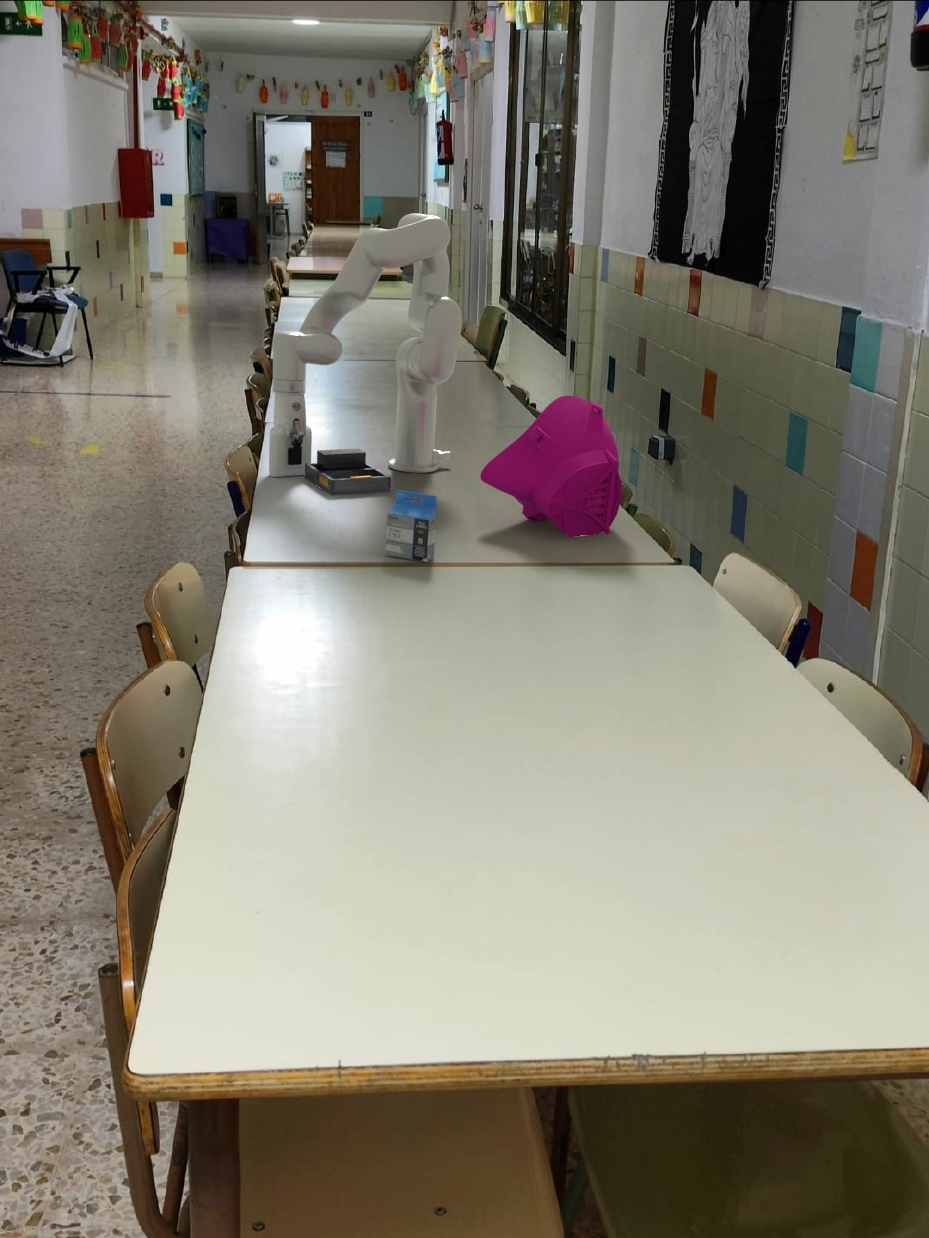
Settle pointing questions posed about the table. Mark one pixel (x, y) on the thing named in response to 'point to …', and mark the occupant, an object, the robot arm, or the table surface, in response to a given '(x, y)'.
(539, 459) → the face mask
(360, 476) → the tray
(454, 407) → the table surface
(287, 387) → the robot arm
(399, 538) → the label tape box
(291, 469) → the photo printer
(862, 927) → the table surface
